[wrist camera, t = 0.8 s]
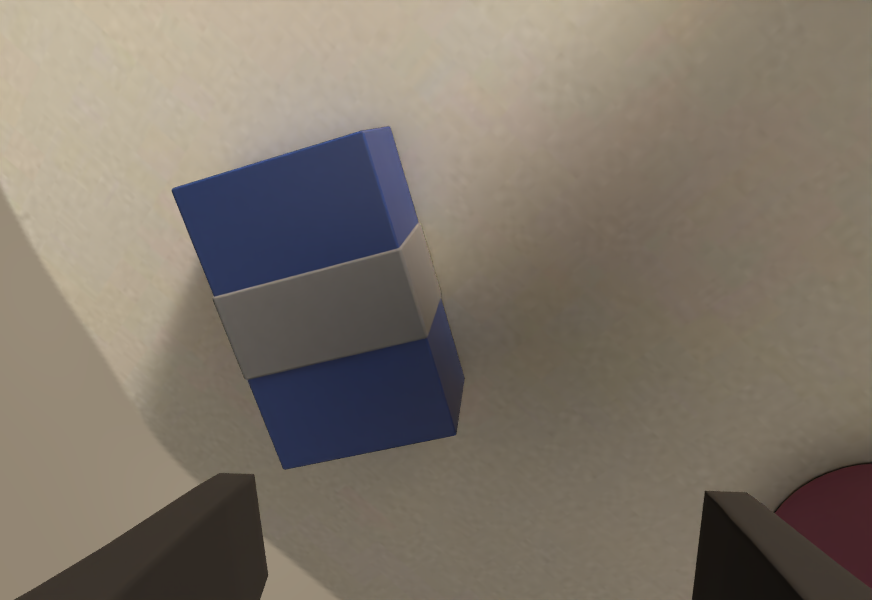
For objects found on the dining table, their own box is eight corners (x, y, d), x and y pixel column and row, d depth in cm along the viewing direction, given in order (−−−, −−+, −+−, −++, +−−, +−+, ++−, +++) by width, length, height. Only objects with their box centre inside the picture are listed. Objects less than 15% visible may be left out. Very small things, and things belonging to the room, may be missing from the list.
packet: (466, 378, 19) (459, 436, 16) (318, 410, 20) (280, 472, 17) (392, 125, 17) (364, 129, 14) (230, 174, 18) (166, 189, 15)
